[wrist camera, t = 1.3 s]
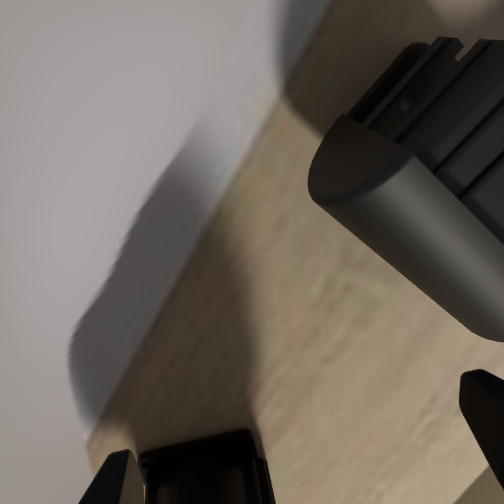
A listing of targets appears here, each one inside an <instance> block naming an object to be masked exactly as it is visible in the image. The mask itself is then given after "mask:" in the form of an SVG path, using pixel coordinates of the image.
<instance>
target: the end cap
mask: <svg viewBox="0 0 504 504" xmlns="http://www.w3.org/2000/svg"><path fill="white" fill-rule="evenodd" d="M463 47H464V46H463V45H462V43H461V42H460V41H459V40H458V38H450V37H438V38H437V39H436V40H435V41H434V42H433V43H432V44H431V45H428V44H426V43H420V42H419V43H412V44H410V45H409V46H408V47H406V48H405V49H404V50H403V51H402V52H401V54H400V55H399V56H398V57H397V58H396V59H395V60H394V62H393V63H392V64H391V65H390V66H389V67H388V68H387V69H386V71H385V72H384V73H383V74H382V75H381V76H380V77H379V79H378V80H377V81H376V82H375V83H374V84H373V85H372V87H371V88H370V89H369V90H368V91H367V92H366V93H365V95H364V96H363V97H362V98H361V99H360V100H359V101H358V103H357V104H356V105H355V106H354V107H353V108H352V109H351V111H350V112H349V113H348V114H347V115H344V114H342V115H341V116H340V117H339V118H338V120H337V121H336V122H335V123H334V125H333V126H332V127H331V129H330V130H329V132H328V133H327V134H326V136H325V137H324V139H323V141H322V142H321V144H320V146H319V148H318V150H317V152H316V154H315V156H314V158H313V160H312V163H311V166H310V169H309V174H308V191H309V194H310V196H311V198H312V200H313V201H314V202H315V203H316V204H318V205H319V206H320V207H321V208H322V209H324V210H325V211H326V212H327V213H329V214H330V215H331V216H332V217H333V218H335V219H336V220H337V221H338V222H339V223H341V224H342V225H343V226H344V227H345V228H347V229H348V230H349V231H350V232H351V233H353V234H354V235H355V236H356V237H358V238H359V239H360V240H361V241H362V242H364V243H365V244H366V245H367V246H368V247H370V248H371V249H372V250H373V251H374V252H376V253H377V254H378V255H379V256H380V257H382V258H383V259H384V260H385V261H387V262H388V263H389V264H390V265H391V266H393V267H394V268H395V269H396V270H397V271H399V272H400V273H401V274H402V275H403V276H405V277H406V278H407V279H408V280H409V281H411V282H412V283H413V284H414V285H416V286H417V287H418V288H419V289H420V290H422V291H423V292H424V293H425V294H426V295H428V296H429V297H430V298H431V299H432V300H434V301H435V302H436V303H437V304H438V305H440V306H441V307H442V308H443V309H445V310H446V311H447V312H448V313H449V314H451V315H452V316H453V317H454V318H455V319H457V320H458V321H459V322H460V323H461V324H463V325H464V326H465V327H466V328H468V329H469V330H470V331H471V332H472V333H474V334H476V335H479V336H481V337H483V338H485V339H488V340H492V341H497V342H504V41H503V40H486V39H479V41H478V42H477V43H476V44H475V45H474V46H473V47H472V48H471V49H470V50H469V51H468V53H467V54H466V55H465V56H464V57H463V58H462V59H461V60H460V61H459V62H458V61H457V60H456V59H455V58H454V57H455V56H456V55H457V54H458V53H459V51H460V50H461V49H462V48H463Z"/></svg>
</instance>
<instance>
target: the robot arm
mask: <svg viewBox="0 0 504 504" xmlns="http://www.w3.org/2000/svg"><path fill="white" fill-rule="evenodd" d="M459 406H460V409H461V412H462V414H463V416H464V418H465V420H466V422H467V423H468V425H469V427H470V429H471V431H472V433H473V435H474V437H475V439H476V441H477V442H478V444H479V446H480V448H481V450H482V452H483V454H484V456H485V458H486V460H487V462H488V463H489V465H490V467H491V469H492V471H493V473H494V474H495V476H496V478H497V480H498V482H499V483H500V485H501V486H502V488H503V490H504V380H503V379H501V378H499V377H497V376H495V375H493V374H491V373H489V372H487V371H485V370H482V369H476V370H472V371H468V372H464V373H463V374H462V375H461V378H460V390H459ZM143 483H144V485H145V487H146V488H145V504H276V503H275V498H274V493H273V488H272V483H271V479H270V474H269V469H268V464H267V460H265V459H264V458H263V457H262V458H258V456H257V452H256V447H255V443H254V438H253V434H252V432H251V431H249V430H240V431H236V432H231V433H227V434H223V435H219V436H214V437H210V438H206V439H201V440H197V441H193V442H188V443H184V444H180V445H175V446H171V447H167V448H163V449H158V450H154V451H150V452H145V453H142V454H140V455H139V456H138V459H137V462H136V460H135V457H134V455H133V452H132V451H131V450H129V449H125V450H121V451H117V452H113V453H111V454H109V455H108V457H107V458H106V460H105V461H104V463H103V464H102V466H101V468H100V469H99V471H98V473H97V474H96V476H95V477H94V479H93V481H92V482H91V484H90V485H89V487H88V489H87V490H86V492H85V494H84V495H83V497H82V498H81V500H80V502H79V503H78V504H144V488H143Z"/></svg>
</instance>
